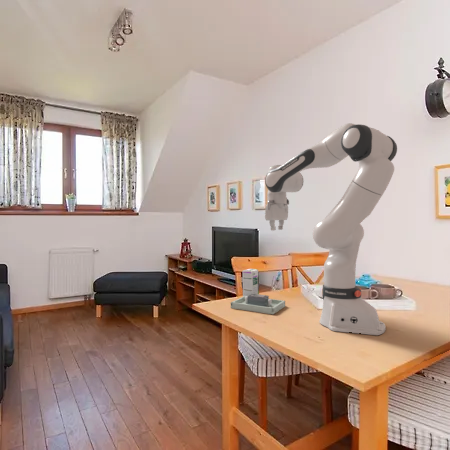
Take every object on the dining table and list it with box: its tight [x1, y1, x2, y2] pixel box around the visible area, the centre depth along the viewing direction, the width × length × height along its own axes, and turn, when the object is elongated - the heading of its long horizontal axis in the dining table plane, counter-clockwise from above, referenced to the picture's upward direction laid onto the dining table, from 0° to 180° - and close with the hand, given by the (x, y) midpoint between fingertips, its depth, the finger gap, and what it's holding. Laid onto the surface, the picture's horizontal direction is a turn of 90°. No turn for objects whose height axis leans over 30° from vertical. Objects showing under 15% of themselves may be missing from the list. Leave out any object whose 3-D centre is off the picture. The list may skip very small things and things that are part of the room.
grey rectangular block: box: [248, 293, 270, 307], centre depth 145 cm, size 8×5×4 cm, turn 63°
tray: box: [230, 296, 286, 315], centre depth 145 cm, size 20×14×4 cm
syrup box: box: [242, 268, 260, 297], centre depth 159 cm, size 6×6×14 cm
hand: (276, 230), depth 154 cm, fingers open, 8 cm apart
